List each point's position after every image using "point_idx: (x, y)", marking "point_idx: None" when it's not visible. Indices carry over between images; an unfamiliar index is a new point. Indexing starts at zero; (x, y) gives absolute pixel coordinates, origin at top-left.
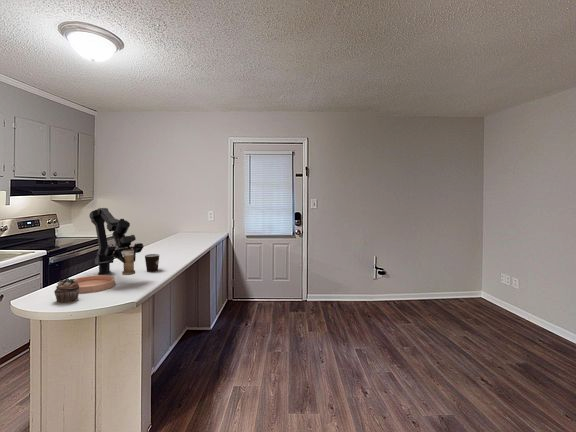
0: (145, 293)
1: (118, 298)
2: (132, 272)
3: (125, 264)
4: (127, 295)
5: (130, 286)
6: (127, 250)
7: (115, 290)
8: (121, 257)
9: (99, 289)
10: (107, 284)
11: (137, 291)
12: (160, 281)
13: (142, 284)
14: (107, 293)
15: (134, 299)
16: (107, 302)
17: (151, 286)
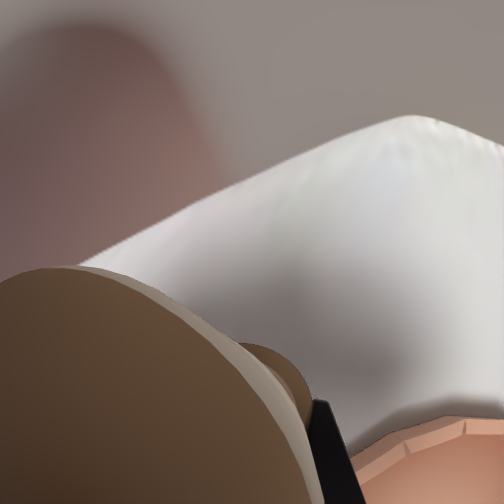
0: (328, 144)
1: (456, 189)
2: (245, 343)
3: (296, 408)
4: (409, 190)
5: (290, 341)
6: (163, 458)
7: (408, 340)
8: (361, 493)
9: (466, 417)
10: (423, 430)
11: (335, 203)
12: (107, 263)
13: (208, 309)
14: (464, 319)
15: (408, 124)
16: (500, 186)
17: (215, 218)
